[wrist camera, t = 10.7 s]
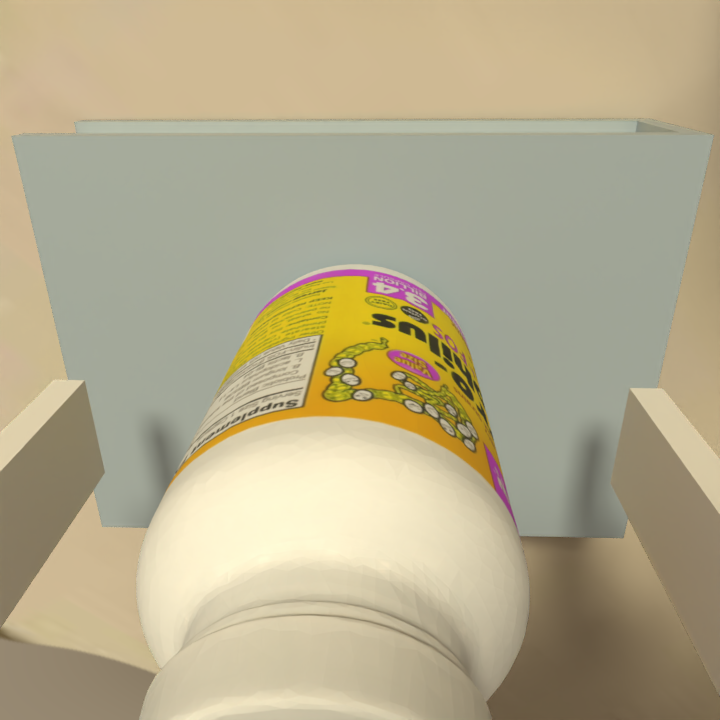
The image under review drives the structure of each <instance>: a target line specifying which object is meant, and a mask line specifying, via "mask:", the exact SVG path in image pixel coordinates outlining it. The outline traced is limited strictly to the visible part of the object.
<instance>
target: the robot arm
mask: <svg viewBox="0 0 720 720" xmlns="http://www.w3.org/2000/svg"><path fill="white" fill-rule="evenodd" d="M104 474H105V470H104V465H103V461H102V456H101V452H100V447H99V443H98V438H97V434H96V429H95V424H94V420H93V415H92V411H91V406H90V402H89V397H88V393H87V388H86V384H85V380H53V381H52V382H51V383H50V384H49V385H48V386H47V387H46V388H45V389H44V390H43V391H42V392H41V393H40V394H39V395H38V396H37V397H36V398H35V399H34V400H33V401H32V402H31V403H30V404H29V405H28V406H27V407H26V408H25V409H24V410H23V411H22V412H21V413H20V414H19V415H18V416H17V417H16V418H15V419H14V420H13V421H12V422H11V423H10V424H9V425H8V426H7V427H6V428H4V429H3V430H2V431H1V432H0V628H1V627H2V625H3V624H4V622H5V621H6V619H7V618H8V616H9V615H10V614H11V612H12V611H13V609H14V608H15V606H16V605H17V603H18V602H19V600H20V599H21V597H22V596H23V594H24V593H25V591H26V590H27V588H28V587H29V585H30V584H31V582H32V581H33V579H34V578H35V576H36V575H37V573H38V572H39V570H40V569H41V567H42V566H43V564H44V563H45V561H46V560H47V559H48V557H49V556H50V554H51V553H52V551H53V550H54V548H55V547H56V545H57V544H58V542H59V541H60V539H61V538H62V536H63V535H64V533H65V532H66V530H67V529H68V527H69V526H70V524H71V523H72V521H73V520H74V518H75V517H76V515H77V514H78V512H79V511H80V509H81V508H82V506H83V505H84V504H85V502H86V501H87V499H88V498H89V496H90V495H91V493H92V492H93V490H94V489H95V487H96V486H97V484H98V483H99V481H100V480H101V478H102V477H103V475H104ZM610 484H611V485H612V487H613V489H614V491H615V493H616V495H617V497H618V499H619V501H620V503H621V505H622V507H623V509H624V511H625V513H626V515H627V517H628V519H629V521H630V523H631V525H632V527H633V528H634V530H635V532H636V534H637V536H638V538H639V540H640V542H641V544H642V546H643V548H644V550H645V552H646V554H647V556H648V558H649V560H650V562H651V564H652V566H653V568H654V570H655V571H656V573H657V575H658V577H659V579H660V581H661V583H662V585H663V587H664V589H665V591H666V593H667V595H668V597H669V599H670V601H671V603H672V605H673V607H674V609H675V611H676V613H677V614H678V616H679V618H680V620H681V622H682V624H683V626H684V628H685V630H686V632H687V634H688V636H689V638H690V640H691V642H692V644H693V646H694V648H695V650H696V652H697V654H698V656H699V657H700V659H701V661H702V663H703V665H704V667H705V669H706V671H707V673H708V675H709V677H710V679H711V681H712V683H713V685H714V687H715V689H716V691H717V693H718V695H719V697H720V459H719V458H718V456H717V455H716V454H715V453H714V451H713V450H712V449H711V448H710V446H709V445H708V444H707V443H706V442H705V440H704V439H703V438H702V437H701V435H700V434H699V433H698V432H697V430H696V429H695V428H694V427H693V425H692V424H691V423H690V422H689V421H688V419H687V418H686V417H685V416H684V414H683V413H682V412H681V411H680V409H679V408H678V407H677V406H676V404H675V403H674V402H673V401H672V400H671V398H670V397H669V396H668V395H667V393H666V392H665V391H664V390H663V388H629V393H628V398H627V403H626V408H625V413H624V418H623V423H622V428H621V433H620V437H619V442H618V447H617V452H616V457H615V462H614V467H613V472H612V477H611V482H610Z"/></svg>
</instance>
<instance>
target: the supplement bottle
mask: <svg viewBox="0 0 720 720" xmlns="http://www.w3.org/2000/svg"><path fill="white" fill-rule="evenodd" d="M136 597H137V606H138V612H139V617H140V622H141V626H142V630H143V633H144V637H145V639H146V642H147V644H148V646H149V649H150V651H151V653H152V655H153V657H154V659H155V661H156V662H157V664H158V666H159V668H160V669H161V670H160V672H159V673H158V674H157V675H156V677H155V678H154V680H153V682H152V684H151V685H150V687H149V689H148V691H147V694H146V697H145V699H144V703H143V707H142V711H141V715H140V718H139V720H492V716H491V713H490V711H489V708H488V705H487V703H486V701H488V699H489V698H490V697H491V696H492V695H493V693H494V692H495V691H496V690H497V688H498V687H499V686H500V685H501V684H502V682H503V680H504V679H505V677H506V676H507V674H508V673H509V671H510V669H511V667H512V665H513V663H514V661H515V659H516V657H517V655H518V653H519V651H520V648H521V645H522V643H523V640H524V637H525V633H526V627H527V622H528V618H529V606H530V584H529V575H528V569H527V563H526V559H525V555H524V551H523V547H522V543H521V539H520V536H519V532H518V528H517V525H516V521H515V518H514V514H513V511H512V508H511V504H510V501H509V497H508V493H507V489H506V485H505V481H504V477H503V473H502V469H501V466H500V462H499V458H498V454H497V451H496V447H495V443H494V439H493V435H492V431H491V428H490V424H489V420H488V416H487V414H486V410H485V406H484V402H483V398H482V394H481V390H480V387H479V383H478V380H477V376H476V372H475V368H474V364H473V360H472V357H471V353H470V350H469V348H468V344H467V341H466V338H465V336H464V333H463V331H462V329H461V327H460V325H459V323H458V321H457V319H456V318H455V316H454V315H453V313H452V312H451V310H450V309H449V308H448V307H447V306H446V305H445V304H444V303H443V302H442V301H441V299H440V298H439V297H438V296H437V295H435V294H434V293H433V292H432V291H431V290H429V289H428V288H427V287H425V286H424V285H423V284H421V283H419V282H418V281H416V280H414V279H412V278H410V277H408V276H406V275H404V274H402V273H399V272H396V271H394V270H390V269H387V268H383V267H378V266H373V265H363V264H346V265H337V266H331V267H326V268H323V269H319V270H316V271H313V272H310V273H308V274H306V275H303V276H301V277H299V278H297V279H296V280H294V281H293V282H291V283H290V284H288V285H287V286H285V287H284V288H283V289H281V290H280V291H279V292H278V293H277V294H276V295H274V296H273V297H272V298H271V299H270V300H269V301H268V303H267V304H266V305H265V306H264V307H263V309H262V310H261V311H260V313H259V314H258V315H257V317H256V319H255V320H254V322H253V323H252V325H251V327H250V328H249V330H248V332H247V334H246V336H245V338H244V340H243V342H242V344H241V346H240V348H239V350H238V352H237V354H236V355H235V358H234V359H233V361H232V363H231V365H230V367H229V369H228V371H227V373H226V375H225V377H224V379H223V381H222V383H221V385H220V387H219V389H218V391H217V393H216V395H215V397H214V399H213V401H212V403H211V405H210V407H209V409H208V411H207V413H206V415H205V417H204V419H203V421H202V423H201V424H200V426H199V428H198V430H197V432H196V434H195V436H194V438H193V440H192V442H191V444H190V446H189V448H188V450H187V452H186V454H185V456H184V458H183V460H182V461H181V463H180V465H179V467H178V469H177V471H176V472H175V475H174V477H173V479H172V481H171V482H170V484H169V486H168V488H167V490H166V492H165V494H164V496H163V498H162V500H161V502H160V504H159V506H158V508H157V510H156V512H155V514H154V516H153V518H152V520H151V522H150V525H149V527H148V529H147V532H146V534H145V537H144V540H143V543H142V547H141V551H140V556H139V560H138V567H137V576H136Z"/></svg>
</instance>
